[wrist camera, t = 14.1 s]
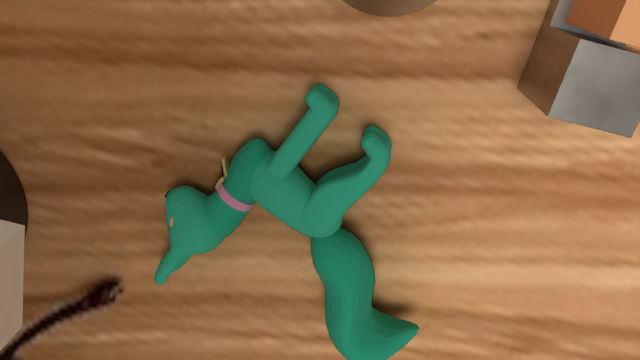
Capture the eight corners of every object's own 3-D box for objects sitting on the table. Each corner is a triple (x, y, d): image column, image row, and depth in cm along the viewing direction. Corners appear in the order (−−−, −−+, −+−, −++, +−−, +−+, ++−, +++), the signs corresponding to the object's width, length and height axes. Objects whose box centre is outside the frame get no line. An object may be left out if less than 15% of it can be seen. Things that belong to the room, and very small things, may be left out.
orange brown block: (588, -36, 33) (640, -32, 27) (643, -22, 33) (709, -14, 27) (564, 22, 35) (609, 39, 28) (617, 36, 35) (674, 56, 28)
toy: (257, 51, 34) (105, 270, 41) (523, 259, 36) (338, 436, 43) (280, 42, 41) (145, 232, 47) (504, 219, 43) (345, 378, 49)
